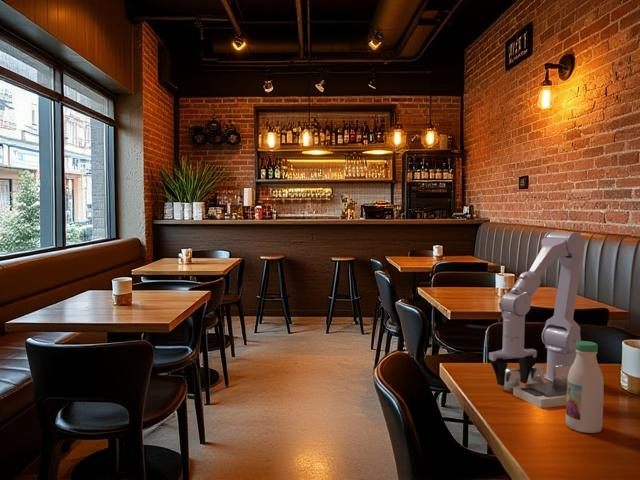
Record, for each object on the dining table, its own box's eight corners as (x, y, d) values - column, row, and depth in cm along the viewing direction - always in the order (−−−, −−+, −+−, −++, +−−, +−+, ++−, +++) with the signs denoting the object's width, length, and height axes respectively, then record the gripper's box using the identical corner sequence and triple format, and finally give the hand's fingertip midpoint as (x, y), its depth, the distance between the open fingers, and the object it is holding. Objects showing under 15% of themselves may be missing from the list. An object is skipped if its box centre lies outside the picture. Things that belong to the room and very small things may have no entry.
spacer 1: (513, 385, 163) (514, 366, 163) (523, 390, 159) (524, 371, 159) (500, 387, 162) (501, 368, 161) (510, 391, 157) (510, 372, 157)
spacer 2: (537, 382, 166) (537, 364, 166) (547, 387, 162) (548, 368, 162) (524, 383, 165) (525, 365, 164) (534, 388, 161) (535, 369, 160)
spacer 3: (562, 382, 156) (562, 363, 156) (574, 387, 152) (574, 367, 151) (549, 384, 155) (549, 364, 154) (560, 389, 150) (561, 368, 150)
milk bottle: (599, 423, 134) (602, 340, 133) (604, 436, 127) (607, 348, 126) (564, 419, 137) (567, 337, 136) (567, 431, 130) (570, 345, 129)
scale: (555, 389, 159) (555, 381, 159) (584, 402, 149) (585, 393, 149) (513, 394, 155) (513, 385, 155) (540, 408, 145) (540, 398, 144)
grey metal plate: (558, 382, 158) (558, 380, 158) (579, 391, 150) (580, 389, 150) (525, 386, 154) (525, 384, 154) (545, 395, 147) (545, 393, 147)
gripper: (525, 331, 165) (524, 377, 166) (483, 334, 161) (481, 381, 162) (542, 336, 159) (540, 384, 160) (498, 340, 154) (496, 389, 155)
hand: (512, 383), depth 160 cm, fingers open, 7 cm apart
